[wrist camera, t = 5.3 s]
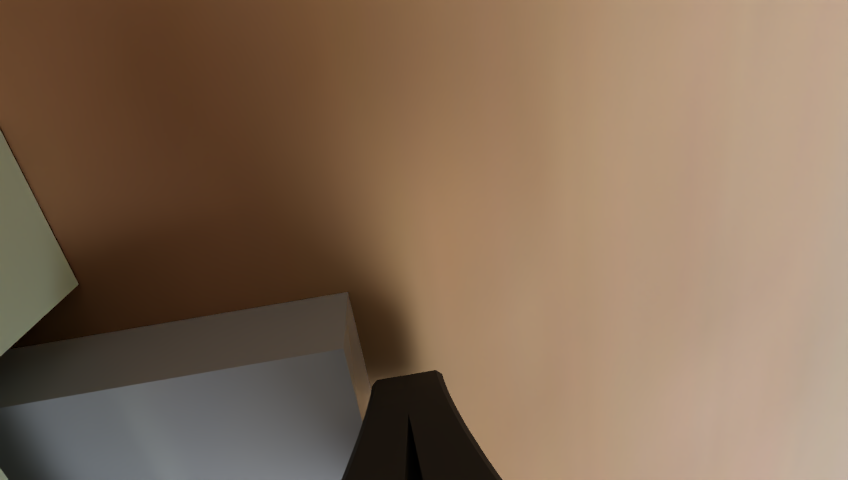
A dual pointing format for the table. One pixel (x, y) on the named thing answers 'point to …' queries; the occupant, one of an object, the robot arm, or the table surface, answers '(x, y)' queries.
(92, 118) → the table surface
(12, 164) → the pale green block
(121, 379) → the gray block
